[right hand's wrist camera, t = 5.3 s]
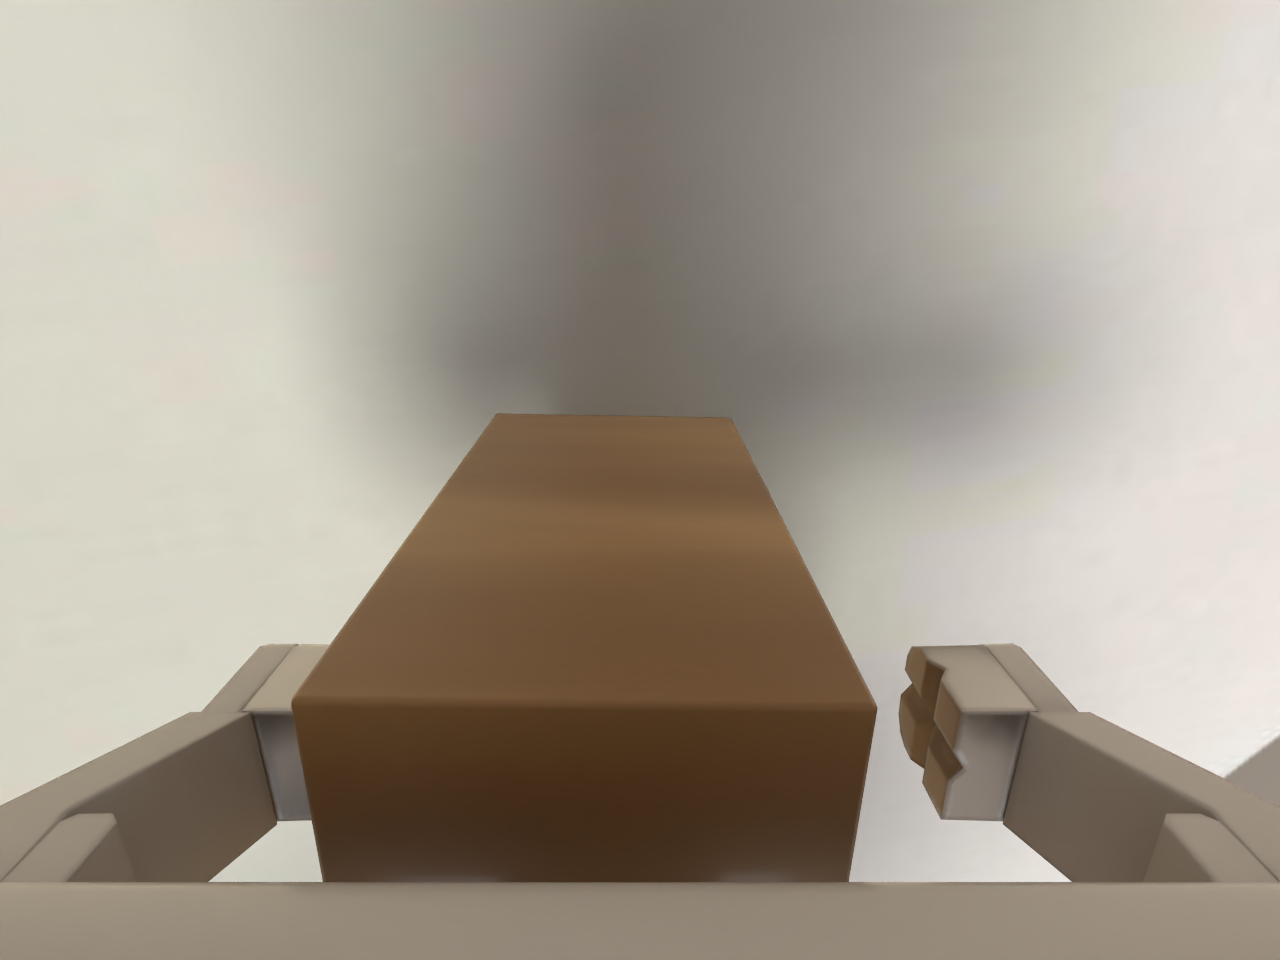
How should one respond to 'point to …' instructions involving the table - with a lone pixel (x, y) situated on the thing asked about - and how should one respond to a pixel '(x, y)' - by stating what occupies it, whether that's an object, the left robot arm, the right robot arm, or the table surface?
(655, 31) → the table surface
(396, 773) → the box
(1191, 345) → the table surface
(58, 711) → the table surface
